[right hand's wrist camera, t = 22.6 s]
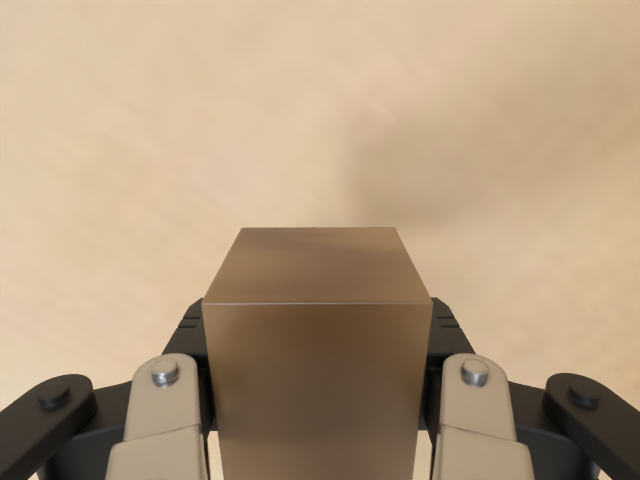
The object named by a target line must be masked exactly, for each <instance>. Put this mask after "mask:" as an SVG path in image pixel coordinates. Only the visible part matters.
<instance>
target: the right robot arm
mask: <svg viewBox="0 0 640 480" xmlns="http://www.w3.org/2000/svg"><path fill="white" fill-rule="evenodd" d="M203 299H204V298H200V299H199V300H198V301H196V302H195V303H194V304H192V305H191V306H190V307H189V308H188V310H187V311H186V313H185V315H184V317H183V319H182V320H181V322H180V323H179V325H178V328H177V329H176V330H175V332H174V334H173V335H172V337H171V339H170V341H169V342H168V344H167V346H166V347H165V349H164V351H163V353H162V354H161V356H158V357H155V358H153V359H151V360H149V361H147V362H145V363H144V364H143V365H141V366H140V367H139V368H138V369H137V371H136V372H135V374H134V376H133V379H132V380H131V381H128V382H126V383H122V384H118V385H114V386H109V387H104V388H100V389H95V390H94V389H93V386H92V382H91V380H90V379H89V378H88V377H86V376H83V375H79V374H68V375H62V376H58V377H54V378H51V379H49V380H46V381H44V382H42V383H40V384H38V385H36V386H35V387H33V388H32V389H30V390H29V391H28V392H26V393H25V394H24V395H22V396H21V397H20V398H18V399H17V400H16V401H14V402H13V403H12V404H10V405H9V406H8V407H6V408H5V409H4V410H2V411H1V412H0V480H28V479H29V478H30V477H31V476H32V475H33V474H34V473H35V472H36V473H37V476H38V478H39V480H211V470H210V457H209V448H208V441H207V438H208V435H209V432H210V431H218V430H217V422H216V414H215V407H214V399H213V391H212V383H211V376H210V368H209V360H208V352H207V345H206V337H205V329H204V321H203V314H202V306H201V303H202V301H203ZM431 299H432V301H433V309H432V317H431V326H430V334H429V343H428V351H427V359H426V368H425V376H424V385H423V393H422V402H421V410H420V419H419V427H418V430H427V431H428V434H429V437H430V440H431V443H432V448H431V457H430V470H429V480H599V479H598V476H599V473H600V470H601V469H602V470H603V471H604V472H605V473H606V474H607V475H608V476H609V477H610V478H611V479H612V480H640V412H639V411H638V410H636V409H635V408H634V407H632V406H631V405H630V404H628V403H627V402H626V401H624V400H623V399H622V398H620V397H619V396H618V395H616V394H615V393H614V392H612V391H611V390H610V389H608V388H607V387H605V386H604V385H602V384H600V383H599V382H597V381H595V380H592V379H590V378H587V377H585V376H581V375H577V374H571V373H559V374H555V375H552V376H551V377H550V378H549V379H548V380H547V383H546V387H545V390H544V389H540V388H535V387H531V386H526V385H522V384H517V383H513V382H510V381H508V379H507V376H506V374H505V372H504V371H503V369H502V368H501V367H500V366H499V365H497V364H496V363H495V362H493V361H491V360H489V359H487V358H485V357H482V356H479V355H476V353H475V352H474V350H473V348H472V346H471V345H470V343H469V341H468V339H467V338H466V336H465V334H464V333H463V331H462V329H461V328H460V327H459V324H458V322H457V320H456V319H455V317H454V315H453V313H452V312H451V310H450V308H449V306H447V305H446V304H445V303H443V302H442V301H441V300H439V299H438V298H431Z"/></svg>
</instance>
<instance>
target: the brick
mask: <svg viewBox="0 0 640 480" xmlns="http://www.w3.org/2000/svg"><path fill="white" fill-rule="evenodd" d="M201 306H202V314H203V321H204V329H205V337H206V345H207V352H208V360H209V368H210V376H211V383H212V391H213V399H214V407H215V414H216V422H217V430H218V438H219V445H220V453H221V461H222V469H223V476H224V480H412V478H413V469H414V461H415V452H416V444H417V435H418V427H419V419H420V410H421V402H422V393H423V385H424V376H425V368H426V359H427V351H428V343H429V334H430V326H431V317H432V309H433V301H432V299H431V298H430V296H429V294H428V292H427V290H426V288H425V286H424V284H423V282H422V280H421V278H420V276H419V274H418V272H417V270H416V268H415V266H414V264H413V263H412V261H411V259H410V257H409V255H408V253H407V251H406V249H405V247H404V245H403V243H402V241H401V239H400V237H399V235H398V233H397V231H396V229H395V228H241V230H240V232H239V234H238V236H237V238H236V240H235V241H234V243H233V245H232V247H231V249H230V251H229V252H228V254H227V256H226V258H225V260H224V262H223V264H222V265H221V267H220V269H219V271H218V273H217V275H216V277H215V278H214V280H213V282H212V284H211V286H210V288H209V289H208V291H207V293H206V295H205V297H204V299H203V301H202V303H201Z"/></svg>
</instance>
